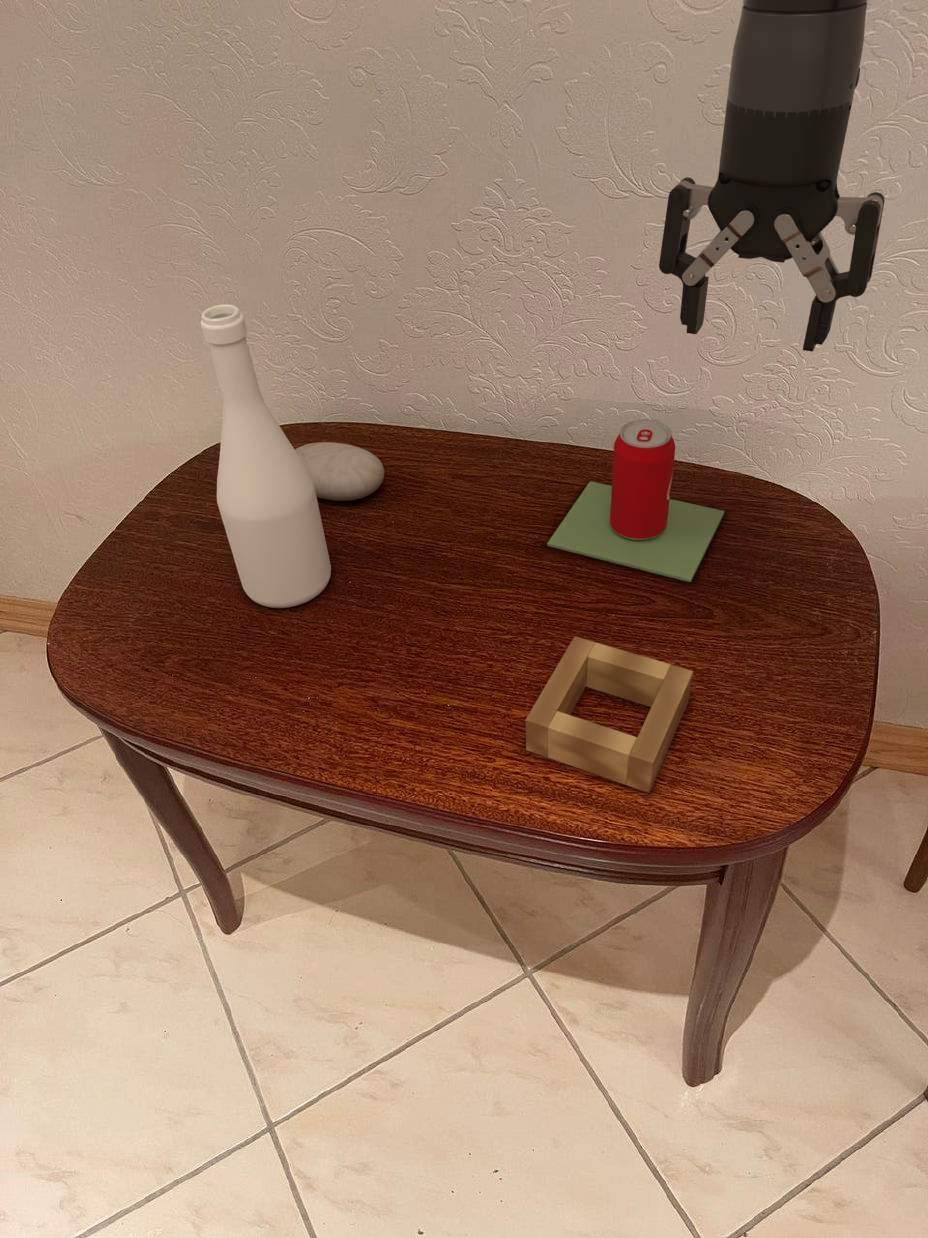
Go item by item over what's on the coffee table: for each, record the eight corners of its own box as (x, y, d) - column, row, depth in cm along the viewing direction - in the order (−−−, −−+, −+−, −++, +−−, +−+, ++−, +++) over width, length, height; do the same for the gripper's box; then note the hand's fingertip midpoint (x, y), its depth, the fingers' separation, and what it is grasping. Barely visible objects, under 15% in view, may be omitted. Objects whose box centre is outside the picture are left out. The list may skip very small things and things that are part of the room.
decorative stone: (271, 495, 108) (263, 460, 104) (316, 458, 113) (309, 424, 110) (357, 522, 102) (351, 486, 99) (400, 482, 108) (395, 447, 105)
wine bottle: (320, 546, 100) (263, 280, 79) (343, 596, 93) (287, 320, 73) (236, 569, 97) (156, 302, 77) (254, 622, 91) (171, 346, 70)
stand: (688, 701, 79) (693, 670, 77) (649, 793, 72) (653, 763, 70) (573, 666, 83) (574, 635, 81) (525, 750, 76) (525, 719, 74)
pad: (724, 513, 100) (724, 510, 99) (690, 582, 91) (691, 579, 91) (590, 483, 105) (590, 480, 105) (547, 545, 97) (547, 543, 97)
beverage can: (670, 515, 99) (682, 420, 91) (661, 548, 95) (672, 451, 87) (615, 507, 101) (621, 413, 93) (603, 539, 97) (608, 443, 89)
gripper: (660, 100, 56) (642, 345, 66) (904, 111, 50) (841, 375, 61) (695, 73, 60) (673, 306, 71) (921, 80, 55) (860, 331, 66)
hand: (751, 338), depth 66 cm, fingers open, 8 cm apart
